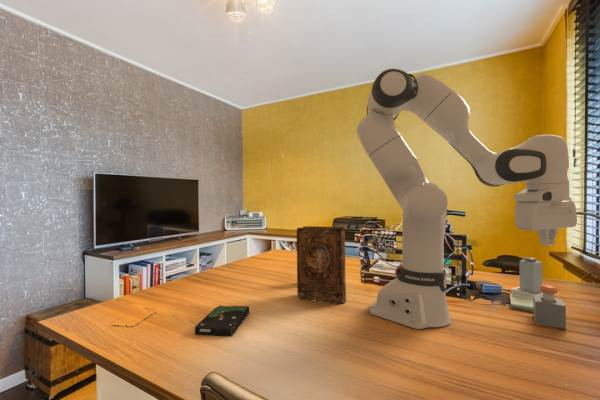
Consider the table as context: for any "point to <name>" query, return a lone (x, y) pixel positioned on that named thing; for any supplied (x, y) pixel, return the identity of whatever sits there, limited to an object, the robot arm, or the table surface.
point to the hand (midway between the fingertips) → (547, 245)
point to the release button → (548, 292)
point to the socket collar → (522, 292)
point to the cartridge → (530, 275)
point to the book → (321, 264)
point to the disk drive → (222, 321)
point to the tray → (521, 302)
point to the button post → (549, 312)
